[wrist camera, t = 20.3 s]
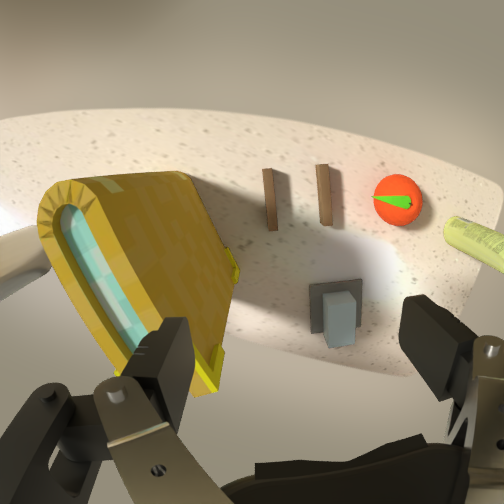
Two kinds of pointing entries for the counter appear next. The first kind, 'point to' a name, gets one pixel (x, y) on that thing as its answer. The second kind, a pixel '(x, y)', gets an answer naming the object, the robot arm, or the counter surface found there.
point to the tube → (476, 241)
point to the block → (339, 318)
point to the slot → (323, 196)
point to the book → (141, 263)
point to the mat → (324, 288)
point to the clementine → (397, 200)
